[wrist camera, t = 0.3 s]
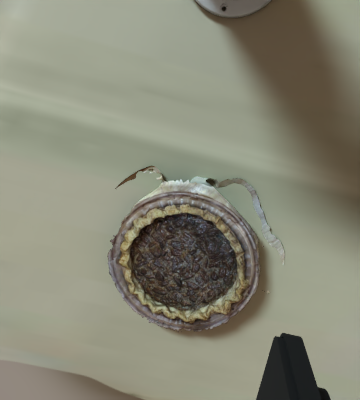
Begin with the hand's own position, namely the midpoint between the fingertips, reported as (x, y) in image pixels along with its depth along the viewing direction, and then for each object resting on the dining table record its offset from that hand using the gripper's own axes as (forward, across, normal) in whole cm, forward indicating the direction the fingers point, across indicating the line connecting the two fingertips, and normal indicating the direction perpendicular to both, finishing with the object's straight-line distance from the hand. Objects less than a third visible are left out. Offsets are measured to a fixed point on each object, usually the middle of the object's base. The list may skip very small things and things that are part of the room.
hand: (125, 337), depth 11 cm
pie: (+38, 0, +14) cm, 40 cm away
